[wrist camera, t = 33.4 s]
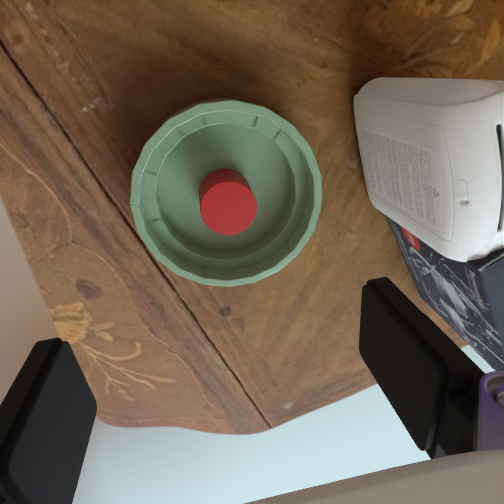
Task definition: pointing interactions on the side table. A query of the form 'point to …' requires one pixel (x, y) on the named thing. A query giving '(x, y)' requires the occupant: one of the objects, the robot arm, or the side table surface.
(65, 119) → the side table surface
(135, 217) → the dish
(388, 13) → the side table surface
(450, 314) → the small box
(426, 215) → the photo printer
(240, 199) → the cap
